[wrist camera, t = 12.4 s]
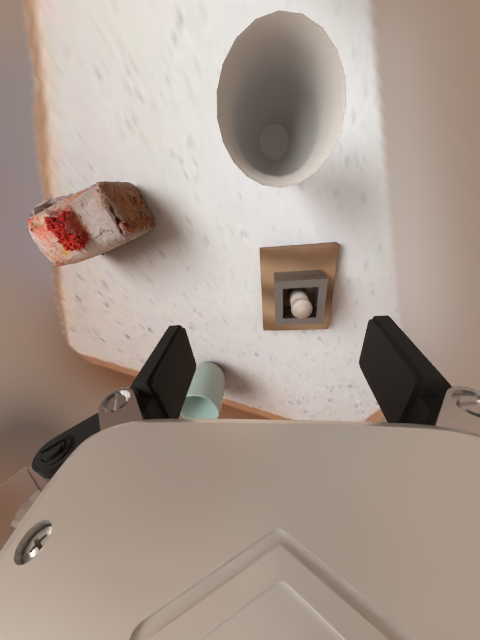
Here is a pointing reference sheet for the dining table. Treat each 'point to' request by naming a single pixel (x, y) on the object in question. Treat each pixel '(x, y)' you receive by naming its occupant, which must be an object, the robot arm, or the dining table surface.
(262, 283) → the brown flat pegged piece
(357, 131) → the dining table surface
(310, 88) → the chalice
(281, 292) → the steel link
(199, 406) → the cup
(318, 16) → the dining table surface
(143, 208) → the food item
